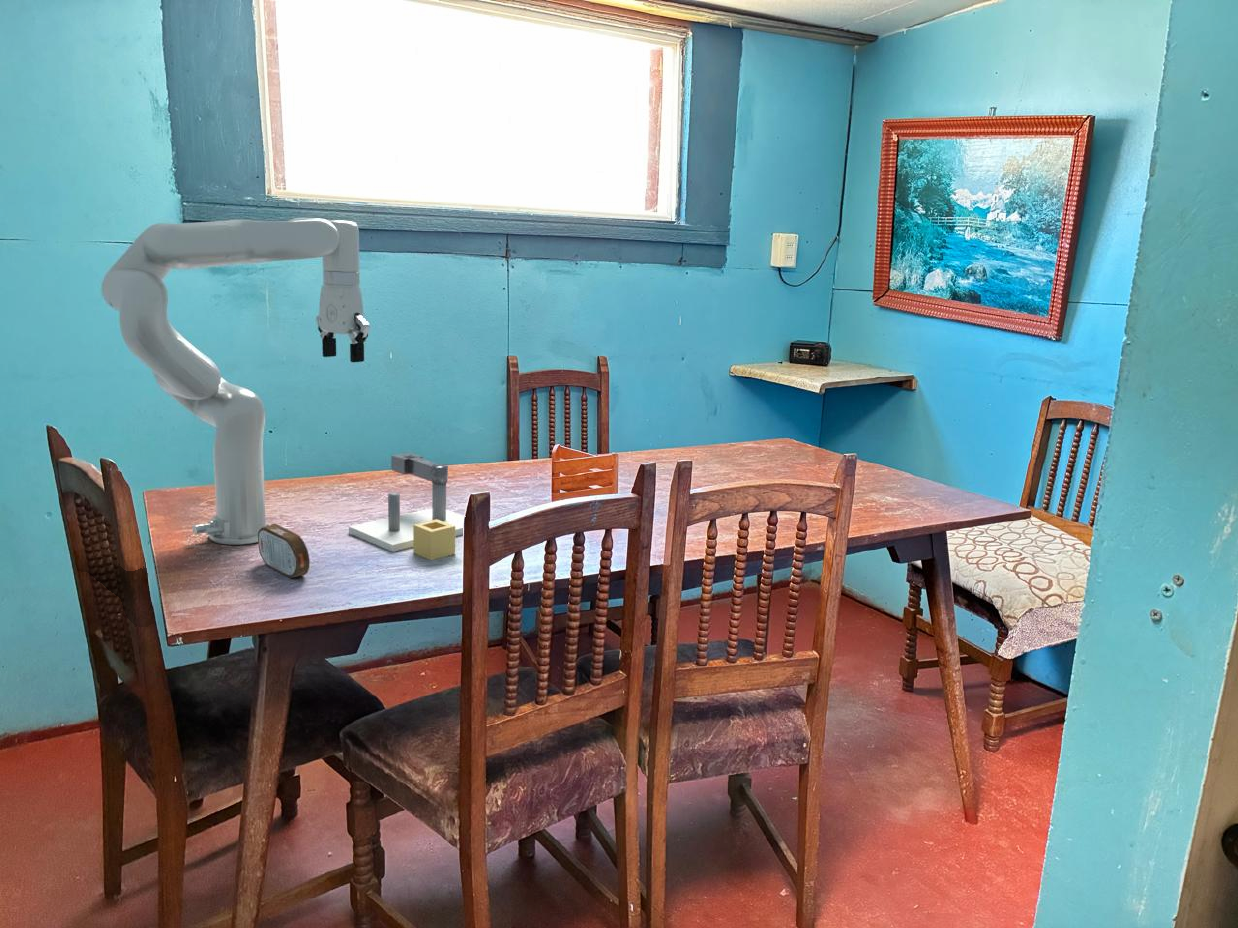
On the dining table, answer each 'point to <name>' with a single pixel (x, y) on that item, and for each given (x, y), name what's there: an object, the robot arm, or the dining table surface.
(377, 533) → the pin board
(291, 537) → the tin
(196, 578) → the dining table surface
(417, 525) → the collar
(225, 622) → the dining table surface
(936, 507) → the dining table surface
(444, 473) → the bar
